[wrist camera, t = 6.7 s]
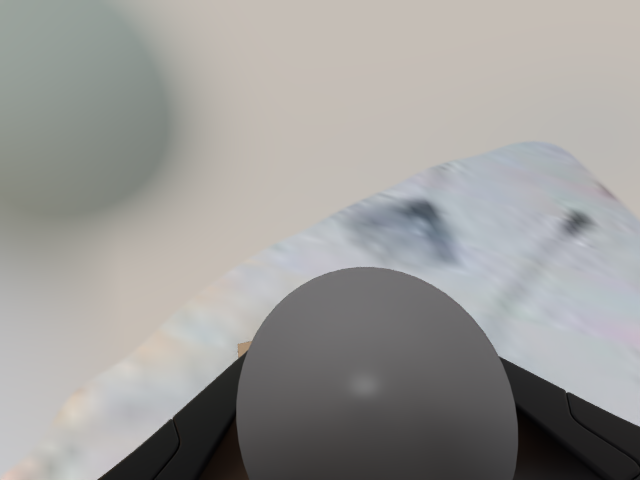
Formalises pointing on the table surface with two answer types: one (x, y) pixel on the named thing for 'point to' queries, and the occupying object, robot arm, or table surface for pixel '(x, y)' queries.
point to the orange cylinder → (374, 386)
